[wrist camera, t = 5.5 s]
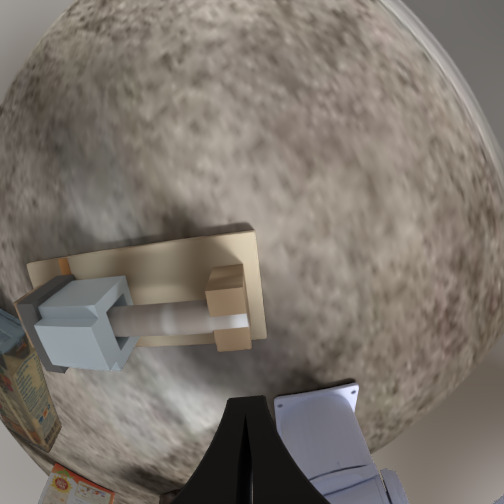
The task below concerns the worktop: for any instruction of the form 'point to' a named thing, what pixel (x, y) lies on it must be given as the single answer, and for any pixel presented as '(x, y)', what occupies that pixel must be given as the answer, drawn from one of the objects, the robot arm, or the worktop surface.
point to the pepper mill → (168, 497)
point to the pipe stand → (176, 289)
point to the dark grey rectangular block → (32, 316)
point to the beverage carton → (24, 387)
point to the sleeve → (85, 325)
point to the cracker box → (73, 489)
